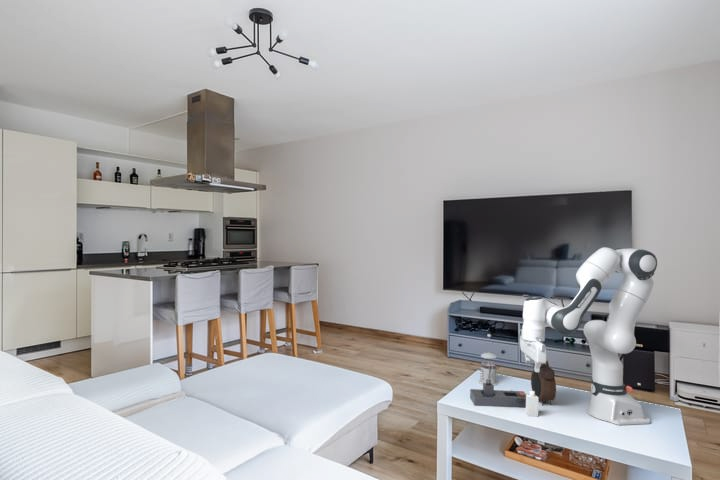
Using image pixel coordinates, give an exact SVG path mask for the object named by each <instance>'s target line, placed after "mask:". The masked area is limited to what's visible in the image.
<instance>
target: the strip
mask: <svg viewBox="0 0 720 480" xmlns="http://www.w3.org/2000/svg"><path fill="white" fill-rule="evenodd" d="M469 392H470V393H469V396H470V397H469V398H470V400H471V402H472V404H473V405H474V407H475V406H476V407H496V408H499V407H500V408H520V409H521V408H525V409H526V395H527V394H526V393H525V391H524V390H522V391H521V390H501V389H500V390H499V389H498V390H497V389H496V390H495V389H494V395H483V389H476V388H475V389H474V388H471V389H470V391H469Z"/></svg>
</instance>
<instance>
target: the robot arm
mask: <svg viewBox="0 0 720 480" xmlns="http://www.w3.org/2000/svg"><path fill="white" fill-rule="evenodd" d="M657 268H658V260H657V257H656V255H655V254H654V253H652V252H651V251H649V250H646V249H639V248H632V247H630V248H621V247H620V248H614V249H613V248H610V247H605V246H603V247H600V248H599V249H597V250H596V251H595V252H594V253H592V254H591V255H590V256H589V257H588V258H587V259H586V260H585V261H584V262H583V263H582V264H581V265H580V266H579V268H578V269H577V271H576V274H575V279H576V281H577V284H578V285H579V286H580V287H579V288H580V289H579V291H578V293H577V294H576V296H574V298H573V299H572V301H571V302H570V303H569V304H568V305H566V306H565V307H562V306H560V305H558V304H555V303H553V302H551V301H549V300H547V299H546V298H545V297H544V296H540V295H539V296H537V295H536V296H535V295H533V296H528V297H526V298H525V300H524V301H523V306H522V307H523V308H522V321H523V323H522V326H521V329H519V330H518V334H519V335H520V336H519V346H520V351H521V352H522V353H524V359H525V365H526V366H531V364H532V361H534V363H535V367H534V369H533V370H534V371H535V372H539V371H540V366H541V364H546V360H547V346H546V344H545V343H544V342H545V340H546V328H547V327H550V328H551V329H553V330H555V331H557V332H558V333H560V334H562V335H572V334H574V333H575V332H577V331H578V330H579V328H580V327H581V324H582V321H583V317H584V316H585V314H586V313H587V312H588V310H589V309H590V307H591V306H592V305H593V303H594V302H595V301H596V299H597V298H598V296H599V295H600V293H601V291H602V288H603V286H604V285H605V283H607V281H608V280H609V279H610V278H611V277H612V275H614V273H620V274H622V275H623V280H622V283H620V286H619V287H618V289H617V290H616V291H615V293H614V295H613V297H612V299H611V300H610V301H609V304H608V309H609V314H608V319H607V321H605V320H602V319H592V320H590V321H587V322H586V323H585V324H584V327H583V335H584V336H585V338H586V340H587V343H588V347H589V351H590V358H591V362H592V366H591V368H592V369H591V372H592V373H591V375H592V376H591V379H590V393H591V394H590V400H589V404H588V408H587V410H586V412H587V413H588V415H590V416H592V417H593V418H596V419H598V420H600V421H605V422H609V423H612V424H614V425H616V426H617V425H618V426H623V425H624V426H627V425H629V426H630V425H649V424H651V420H650V418H649V417H648V416H647V415H645V414H644V409H643V406H642V404H640V402H639V401H637V400H636V399H635V397H633V396H632V395H630V394H629V393H632V392H633V390H634V389H633V387H632V386H630V385H626V384H625V383H623V382H624V381H623V378H624V366H623V363H622V361H621V360H620V357H619V354H621V355H623V354H624V355H627V354H630V353H632V352H633V350H634V349H635V348H636V347H637V346H636V345H637V340H636V337H635V327H636V323H637V321H638V317H639V316H640V314H641V312H642V310H643V308H644V307H645V306H646V303H647V302H648V300H649V297H650V296H651V293H652V290H653V287H654V280H653V278H652V277H653V276H654V275H655V271H656V270H657ZM531 360H532V361H531ZM628 392H629V393H628Z"/></svg>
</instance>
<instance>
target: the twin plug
mask: <svg viewBox="0 0 720 480" xmlns="http://www.w3.org/2000/svg"><path fill="white" fill-rule="evenodd" d="M482 390H483V395H494V390H495V386H493V384H491V380H489V379H487V380H486V383H483V385H482Z"/></svg>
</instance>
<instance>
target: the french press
mask: <svg viewBox="0 0 720 480" xmlns="http://www.w3.org/2000/svg"><path fill="white" fill-rule="evenodd" d="M486 336H487V337H488V338H491V337H492V335H491V333H488V334H487V335H486ZM480 357H481V358H482V359H486V360H487V361H482V362H481V365H480V375H479V376H480V379H479V380H478V384H480V385H481V386H483V383H486V380H487V379H489V380H491V384H493V386H494V387H496V386H498V385H499V383H498V382H497V366H496V363H494V362H493V361H490V360H495V359H497V358H498V357H497V355H496V354H494V353H491V352H483V353H481V354H480Z"/></svg>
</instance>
